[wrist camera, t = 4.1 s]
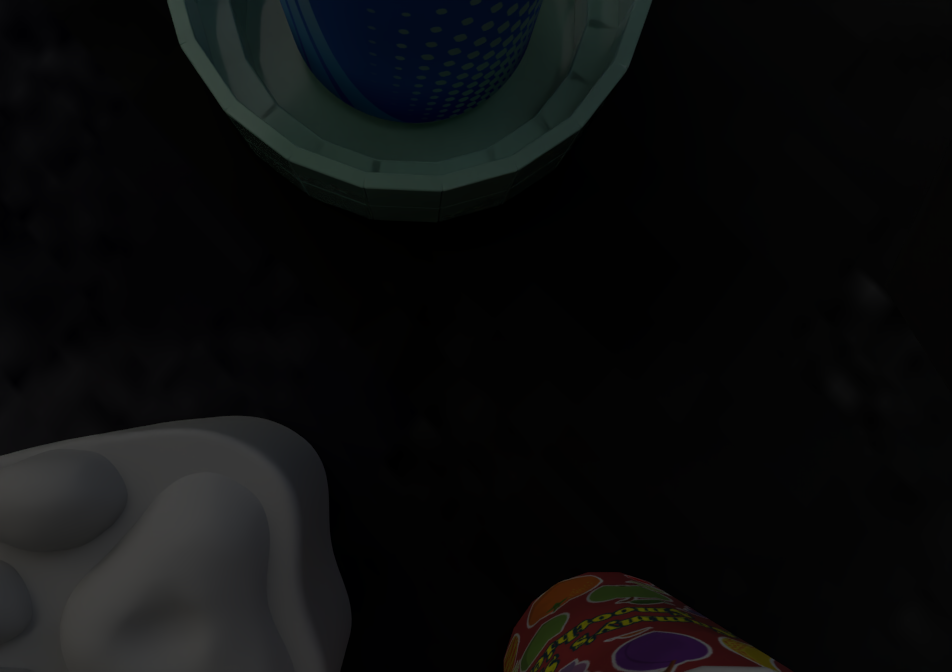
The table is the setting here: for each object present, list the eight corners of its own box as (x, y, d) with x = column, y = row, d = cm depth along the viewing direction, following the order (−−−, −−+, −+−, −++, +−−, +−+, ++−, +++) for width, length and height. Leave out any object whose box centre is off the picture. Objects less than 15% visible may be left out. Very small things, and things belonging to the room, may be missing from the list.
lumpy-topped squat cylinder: (366, 691, 30) (344, 817, 22) (-20, 774, 29) (-203, 940, 21) (311, 394, 31) (269, 401, 22) (-71, 466, 30) (-273, 503, 21)
